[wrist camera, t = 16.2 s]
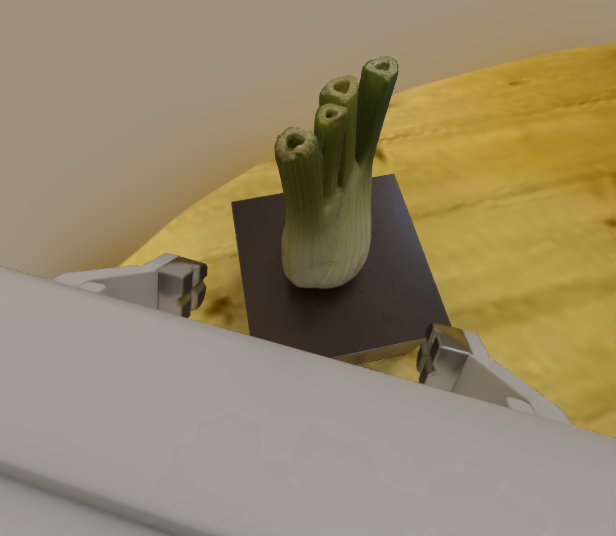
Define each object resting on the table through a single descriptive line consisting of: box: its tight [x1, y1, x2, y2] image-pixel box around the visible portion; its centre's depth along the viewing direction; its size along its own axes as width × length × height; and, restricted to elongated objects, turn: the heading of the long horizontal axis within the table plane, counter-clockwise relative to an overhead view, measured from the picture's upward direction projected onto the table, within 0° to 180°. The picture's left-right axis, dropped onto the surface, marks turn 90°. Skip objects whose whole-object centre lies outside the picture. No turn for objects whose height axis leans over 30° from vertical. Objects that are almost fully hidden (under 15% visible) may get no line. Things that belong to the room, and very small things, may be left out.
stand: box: [231, 174, 452, 365], centre depth 26 cm, size 12×12×9 cm
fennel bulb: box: [275, 56, 398, 289], centre depth 16 cm, size 6×5×12 cm
